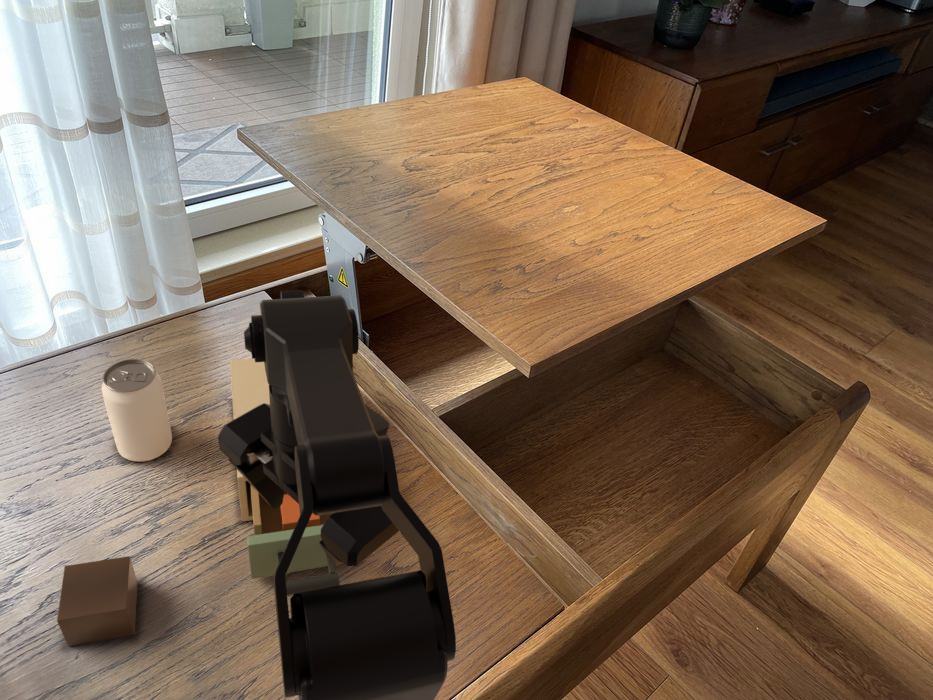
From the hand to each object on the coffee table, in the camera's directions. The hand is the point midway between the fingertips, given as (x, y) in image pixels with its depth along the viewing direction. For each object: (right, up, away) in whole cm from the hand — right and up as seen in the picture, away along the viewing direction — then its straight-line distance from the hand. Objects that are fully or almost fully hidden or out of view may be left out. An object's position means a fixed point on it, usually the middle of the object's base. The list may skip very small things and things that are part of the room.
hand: (307, 533), depth 70 cm
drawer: (-4, -2, +14) cm, 15 cm away
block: (-3, -2, +12) cm, 13 cm away
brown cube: (-22, -9, +3) cm, 24 cm away
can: (-25, +6, +20) cm, 33 cm away
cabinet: (-7, +5, +22) cm, 24 cm away
